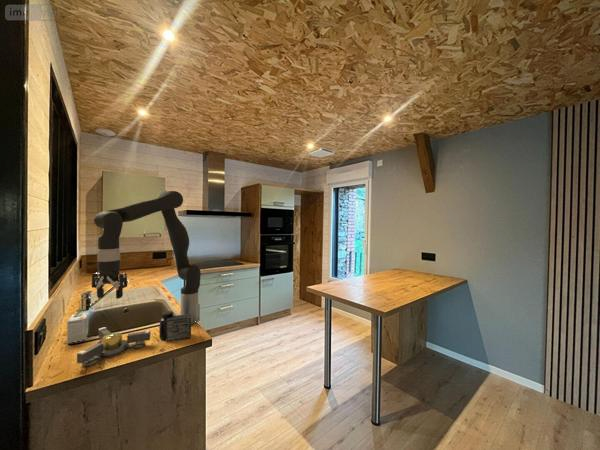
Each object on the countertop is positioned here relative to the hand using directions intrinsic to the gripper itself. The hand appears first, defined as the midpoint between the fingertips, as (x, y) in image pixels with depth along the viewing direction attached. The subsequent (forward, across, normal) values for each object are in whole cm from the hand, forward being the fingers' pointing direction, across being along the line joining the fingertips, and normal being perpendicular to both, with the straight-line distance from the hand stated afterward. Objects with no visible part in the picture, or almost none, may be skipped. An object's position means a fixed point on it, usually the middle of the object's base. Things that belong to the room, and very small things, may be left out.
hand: (109, 297), depth 102 cm
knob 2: (+24, -5, -10) cm, 26 cm away
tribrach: (+25, +6, -4) cm, 26 cm away
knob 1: (+24, +4, +5) cm, 24 cm away
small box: (+26, -18, -20) cm, 37 cm away
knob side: (+24, +12, -10) cm, 28 cm away
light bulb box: (+25, +30, -13) cm, 42 cm away
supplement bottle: (+26, -12, -20) cm, 35 cm away
